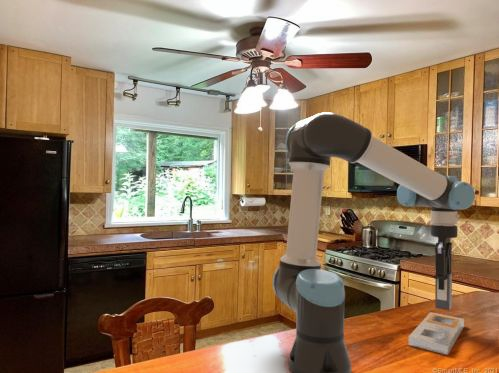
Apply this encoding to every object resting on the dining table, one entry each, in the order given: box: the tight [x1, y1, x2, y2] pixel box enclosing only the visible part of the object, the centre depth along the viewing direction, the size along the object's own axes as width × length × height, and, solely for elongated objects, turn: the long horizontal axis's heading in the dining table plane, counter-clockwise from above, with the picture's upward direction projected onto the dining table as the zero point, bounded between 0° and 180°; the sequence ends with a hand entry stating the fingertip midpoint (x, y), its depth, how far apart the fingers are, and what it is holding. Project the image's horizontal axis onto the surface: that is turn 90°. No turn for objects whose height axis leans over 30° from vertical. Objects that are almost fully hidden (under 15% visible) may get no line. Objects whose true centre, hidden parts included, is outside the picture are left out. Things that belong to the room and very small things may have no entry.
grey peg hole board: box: [408, 311, 465, 356], centre depth 114 cm, size 10×26×3 cm, turn 142°
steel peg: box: [434, 272, 453, 311], centre depth 119 cm, size 4×4×11 cm
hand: (443, 297), depth 119 cm, fingers closed on steel peg, 4 cm apart
